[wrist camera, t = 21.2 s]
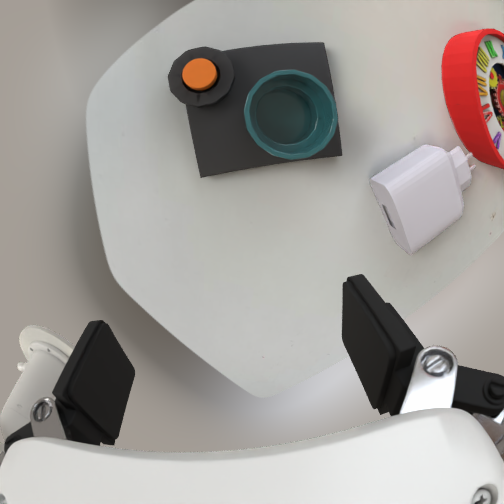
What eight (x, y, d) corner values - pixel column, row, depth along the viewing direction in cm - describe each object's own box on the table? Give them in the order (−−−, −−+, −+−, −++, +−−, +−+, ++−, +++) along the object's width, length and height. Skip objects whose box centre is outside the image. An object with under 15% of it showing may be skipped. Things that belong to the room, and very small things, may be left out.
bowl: (250, 158, 25) (253, 165, 20) (236, 85, 22) (237, 75, 17) (323, 148, 25) (342, 153, 20) (312, 77, 22) (329, 67, 17)
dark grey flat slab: (194, 177, 27) (189, 183, 24) (171, 63, 21) (164, 56, 19) (337, 154, 26) (348, 157, 24) (319, 42, 21) (328, 34, 18)
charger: (468, 185, 28) (393, 241, 31) (451, 124, 25) (366, 177, 27) (491, 195, 24) (413, 258, 27) (476, 128, 20) (387, 187, 23)
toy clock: (447, 36, 15) (513, 25, 11) (417, 44, 20) (488, 28, 17) (497, 197, 23) (549, 147, 19) (469, 185, 28) (526, 140, 24)
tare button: (188, 93, 21) (185, 91, 19) (183, 66, 19) (179, 62, 18) (219, 87, 21) (218, 84, 19) (214, 59, 19) (213, 54, 18)
